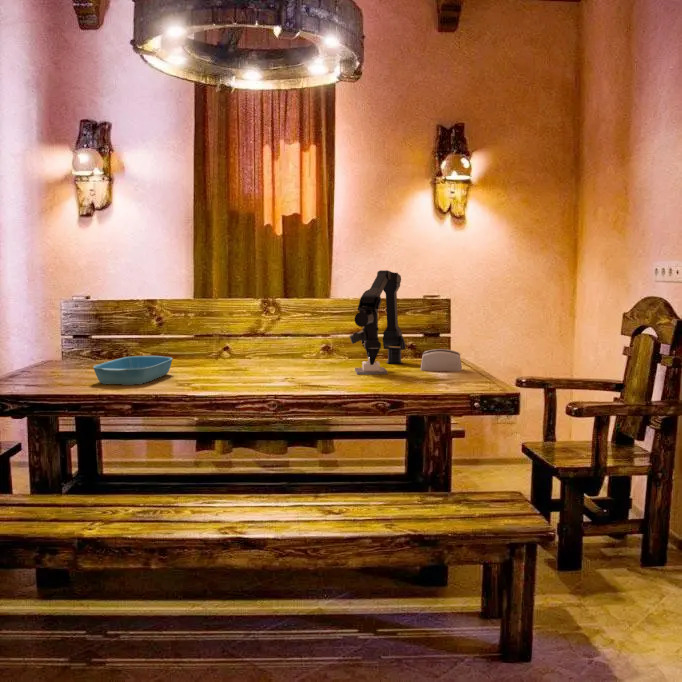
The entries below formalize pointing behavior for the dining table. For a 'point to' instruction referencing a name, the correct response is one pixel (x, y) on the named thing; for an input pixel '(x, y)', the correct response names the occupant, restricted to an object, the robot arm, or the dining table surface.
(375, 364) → the collar
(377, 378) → the dining table surface
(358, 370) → the grey base with post
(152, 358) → the casserole dish
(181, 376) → the dining table surface
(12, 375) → the dining table surface
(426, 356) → the napkin holder
